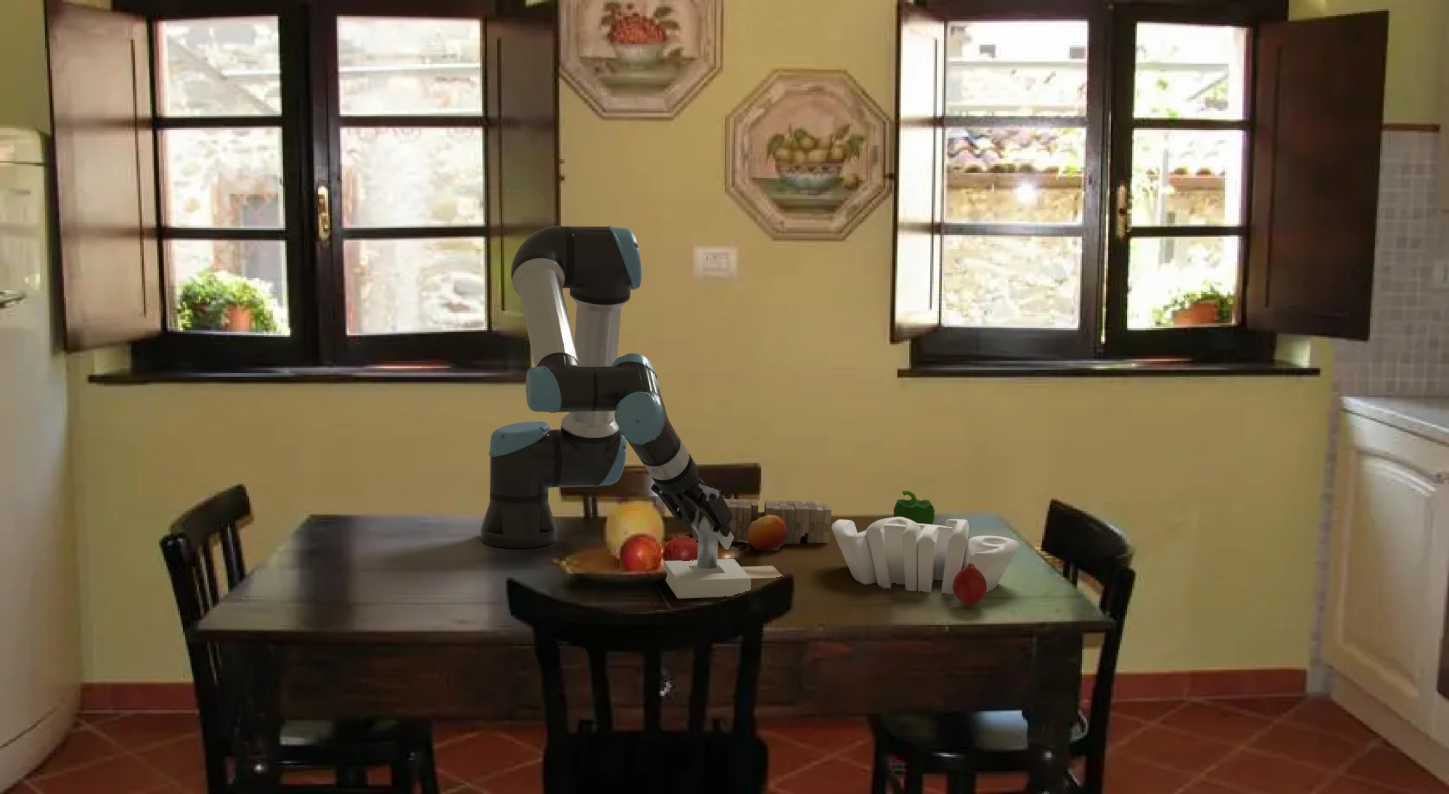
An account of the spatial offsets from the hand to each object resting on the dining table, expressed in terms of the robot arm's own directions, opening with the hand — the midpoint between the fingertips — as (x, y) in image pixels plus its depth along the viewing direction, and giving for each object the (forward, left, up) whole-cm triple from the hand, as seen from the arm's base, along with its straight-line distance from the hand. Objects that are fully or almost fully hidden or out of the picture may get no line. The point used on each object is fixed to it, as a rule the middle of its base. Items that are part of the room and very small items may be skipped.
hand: (719, 541), depth 250 cm
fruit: (-24, +15, -8) cm, 29 cm away
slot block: (+2, -3, -8) cm, 9 cm away
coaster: (-6, +9, -8) cm, 13 cm away
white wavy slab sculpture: (+2, +38, -8) cm, 39 cm away
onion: (+19, +40, -8) cm, 45 cm away
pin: (+3, -3, -4) cm, 5 cm away
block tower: (-32, +15, -8) cm, 36 cm away
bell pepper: (-29, +48, -8) cm, 57 cm away
